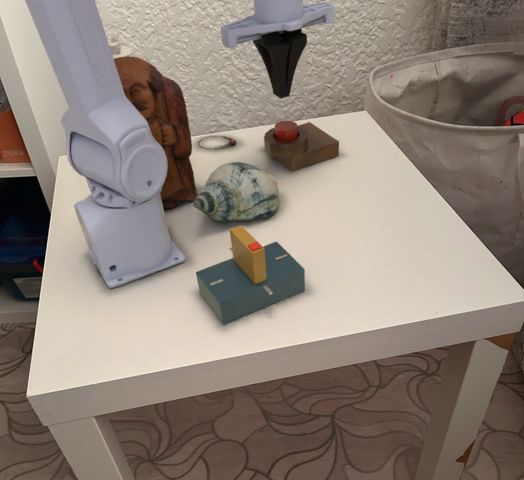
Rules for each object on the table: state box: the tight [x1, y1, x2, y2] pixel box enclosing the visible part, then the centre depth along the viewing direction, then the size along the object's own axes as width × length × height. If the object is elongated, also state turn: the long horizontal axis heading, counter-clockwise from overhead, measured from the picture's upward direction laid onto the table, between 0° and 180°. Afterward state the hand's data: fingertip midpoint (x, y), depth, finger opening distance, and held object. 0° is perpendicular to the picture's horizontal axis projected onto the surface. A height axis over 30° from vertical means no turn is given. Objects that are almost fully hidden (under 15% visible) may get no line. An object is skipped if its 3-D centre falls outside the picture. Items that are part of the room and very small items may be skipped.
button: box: [273, 120, 298, 141], centre depth 77 cm, size 3×3×2 cm
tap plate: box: [195, 241, 306, 325], centre depth 59 cm, size 10×9×3 cm
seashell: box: [192, 161, 280, 223], centre depth 69 cm, size 6×8×12 cm
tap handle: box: [229, 225, 267, 285], centre depth 56 cm, size 5×1×4 cm, turn 29°
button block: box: [263, 121, 340, 172], centre depth 80 cm, size 10×8×4 cm
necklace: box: [197, 135, 238, 150], centre depth 85 cm, size 4×6×1 cm
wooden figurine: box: [114, 56, 197, 211], centre depth 68 cm, size 12×6×18 cm, turn 108°
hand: (281, 94), depth 71 cm, fingers closed
